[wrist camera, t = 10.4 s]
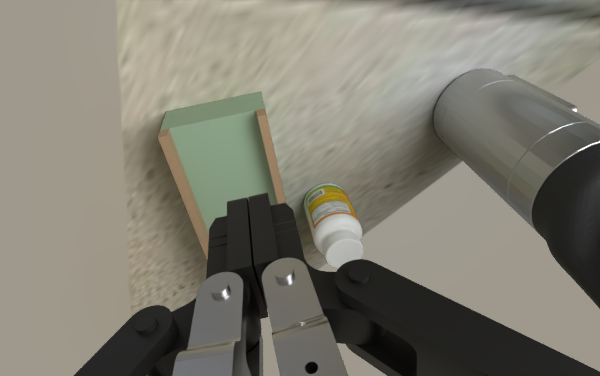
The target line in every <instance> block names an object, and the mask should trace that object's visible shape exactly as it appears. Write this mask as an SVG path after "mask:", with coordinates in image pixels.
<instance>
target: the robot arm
mask: <svg viewBox="0 0 600 376" xmlns="http://www.w3.org/2000/svg"><path fill="white" fill-rule="evenodd" d="M433 121H434V128H435V131H436V133H437V135H438V136H439V138H440V139H441V140H442V141H443V142H444V143H445V144H446V145H447V146H448V147H449V148H450V149H451V150H452V151H454V152H455V153H456V155H457V156H459V157H460V158H461V159H462V160H463V161H464V162H465V163H466V164H467V165H468V166H469V167H470V168H471V169H472V170H473V171H474V172H475V173H476V174H477V175H478V176H479V177H480V178H481V179H482V180H483V181H485V182H486V183H487V184H488V185H489V186H490V187H491V188H492V189H493V190H494V191H495V192H496V193H497V194H498V195H499V196H500V197H501V198H502V199H503V200H504V201H505V202H507V204H509V206H510V207H512V208H513V209H514V210H515V211H516V212H517V213H518V214H519V215H520V216H521V217H522V218H523V219H524V220H525V221H526V222H527V223H528V224H529V225H531V226H532V227H533V228H534V229H535V230H536V231H537V232H538V233H539V234H540V235H541V236H542V237H543V238H544V239H545V240H546V242H547V244H548V247H549V250H550V252H551V254H552V255H553V257H554V258H555V260H556V261H557V262H558V263H559V264H560V266H561V267H562V268H563V269H564V270H565V271H566V272H567V273H568V274H569V275H570V276H571V277H572V278H573V279H574V280H575V281H576V283H577V284H578V285H579V286H580V287H581V288H582V289H583V290H584V291H585V293H586V294H587V295H588V296H589V297H590V298H591V299H592V300H593V302H594V303H595V304H596V305H597V306H598V307H599V308H600V124H599V123H597V122H595V121H593V120H591V119H589V118H587V117H585V116H583V115H581V114H579V113H578V108H577V107H576V106H575V105H573V104H571V103H569V102H567V101H565V100H563V99H561V98H559V97H557V96H555V95H553V94H551V93H549V92H547V91H545V90H543V89H541V88H539V87H537V86H535V85H533V84H531V83H529V82H527V81H525V80H523V79H521V78H519V77H517V76H515V75H512V76H505V75H503V74H501V73H500V72H498V71H494V70H491V69H479V70H474V71H471V72H468V73H466V74H464V75H462V76H460V77H459V78H457V79H456V80H455V81H453V82H452V83H451V84H450V85H449V86H448V87H447V88H446V89H445V91H444V92H443V93H442V95H441V96H440V98H439V100H438V102H437V105H436V107H435V110H434V117H433ZM248 200H249V201H248ZM208 248H209V249H208V260H207V279H206V280H205V281H204V282H203V283H202V284H201V286H200V287H199V289H198V292H197V297H196V298H195V299H194V300H193V301H191V302H190V303H188V304H186V305H185V306H183V307H181V308H179V309H177V310H175V311H173V312H171V311H170V310H169V309H168V308H166V307H164V306H160V305H155V306H150V307H147V308H144V309H142V310H140V311H139V312H137V313H136V314H134V315H133V316H132V317H131V318H130V319H129V320H128V321H127V322H126V323H125V324H124V325H123V326H122V327H121V328H120V329H119V330H118V332H116V333H115V334H114V335H113V336H112V337H111V338H110V339H109V340H108V341H107V343H106V344H104V345H103V346H102V348H101V349H100V350H99V351H98V352H97V353H96V354H95V355H94V356H93V357H92V358H91V359H90V360H89V361H88V362H87V363H86V364H85V365H84V366H83V367H82V368H81V369H80V370H79V371H78V372H77V373H76V374H75V375H74V376H146V375H147V376H263V339H262V335H261V322H260V319H261V318H266V317H268V312H267V308H268V311H269V317H270V321H271V326H272V331H273V333H272V338H273V343H274V348H275V353H276V358H277V363H278V368H279V372H280V376H348V374H347V371H346V368H345V365H344V362H343V360H342V357H341V354H340V351H339V349H338V346H337V343H345V344H346V345H347V347H348V348H349V349H350V350H351V351H352V352H353V353H355V354H357V355H358V356H359V357H361V358H362V359H364V360H365V361H367V362H368V363H370V364H371V365H373V366H374V367H376V368H377V369H378V370H380V371H381V372H383V373H385V374H386V375H387V376H600V372H599V371H597V370H595V369H593V368H591V367H589V366H587V365H585V364H583V363H581V362H579V361H577V360H575V359H573V358H570V357H568V356H566V355H564V354H562V353H560V352H558V351H556V350H554V349H552V348H550V347H548V346H546V345H544V344H541V343H539V342H537V341H535V340H533V339H531V338H529V337H527V336H525V335H523V334H521V333H519V332H517V331H515V330H512V329H510V328H508V327H506V326H504V325H502V324H500V323H498V322H496V321H494V320H492V319H490V318H488V317H486V316H484V315H481V314H479V313H477V312H475V311H473V310H471V309H469V308H467V307H465V306H463V305H461V304H458V303H457V302H454V301H452V300H450V299H448V298H446V297H444V296H442V295H440V294H438V293H436V292H433V291H432V290H430V289H427V288H426V287H423V286H421V285H419V284H417V283H415V282H413V281H411V280H409V279H407V278H405V277H403V276H401V275H398V274H397V273H395V272H392V271H390V270H388V269H386V268H384V267H382V266H380V265H378V264H376V263H374V262H371V261H368V260H363V259H357V260H352V261H349V262H346V263H344V264H343V265H342V266H340V267H339V269H338V270H337V272H325V271H319V270H316V269H314V268H312V267H311V266H309V265H308V264H307V262H306V261H305V258H304V255H303V251H302V247H301V242H300V238H299V234H298V230H297V226H296V222H295V218H294V214H293V210H292V209H291V208H290V207H289V206H288V205H287V204H286V203H281V204H276V205H272V206H271V202H270V198H269V194H268V192H267V193H263V194H258V195H254V196H249V197H248V198H247V197H245V198H241V199H236V200H232V201H227V216H223V217H219V218H215V220H214V222H213V223H212V225H211V226H210V228H209V242H208Z"/></svg>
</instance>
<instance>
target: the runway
mask: <svg viewBox="0 0 600 376" xmlns="http://www.w3.org/2000/svg"><path fill="white" fill-rule="evenodd" d="M158 140H159V142H160V145H161V147H162V150H163V152H164V155H165V157H166V160H167V162H168V165H169V167H170V170H171V172H172V174H173V177H174V179H175V182H176V184H177V187H178V189H179V192H180V194H181V197H182V199H183V202H184V204H185V207H186V209H187V212H188V214H189V217H190V219H191V222H192V224H193V227H194V229H195V232H196V234H197V237H198V239H199V242H200V244H201V247H202V249H203V252H204V254H205V257H206V259H207V260H208V249H209V248H208V242H209V228H210V226H211V225H212V223H213V222H214V220H215V218H219V217H223V216H227V201H232V200H236V199H241V198H245V197H247V198H248V197H249V196H254V195H258V194H263V193H267V192H268V194H269V198H270V202H271V206H272V205H276V204H281V203H286V201H285V197H284V192H283V188H282V183H281V179H280V174H279V170H278V165H277V161H276V156H275V152H274V147H273V143H272V138H271V134H270V129H269V125H268V120H267V115H266V111H265V107H264V102H263V98H262V93H261V92H257V93H253V94H248V95H243V96H238V97H234V98H229V99H224V100H219V101H214V102H210V103H205V104H200V105H195V106H191V107H186V108H181V109H176V110H172V111H167V112H166V114H165V117H164V120H163V123H162V126H161V129H160V132H159V135H158ZM248 201H249V200H248Z"/></svg>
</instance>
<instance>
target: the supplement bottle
mask: <svg viewBox="0 0 600 376" xmlns="http://www.w3.org/2000/svg"><path fill="white" fill-rule="evenodd" d="M304 210H305V213H306V217H307V220H308V224H309V227H310V231H311V234H312V238H313V241H314V244H315V246H316V248H317V249H318V250H319V251H320V252H321V253H323V254H324V256H325V259H326V261H327V263H328V264H329V265H330V266H332V267H335V268H339V267H340V266H342V265H343V264H344V263H346V262H349V261H352V260H357V259H361V257H362V255H363V246H362V244H361V242H360V241H361V238H362V228H361V225H360V223H359V221H358V218H357V216H356V214H355V212H354V210H353V208H352V206H351V203H350V201H349V199H348V197H347V195H346V193H345V191H344V190H343V189H342V188H341V187H339V186H338V185H335V184H330V183H326V184H321V185H318V186H316V187H314V188H313V189H311V190H310V191H309V192H308V193H307V195H306V197H305V199H304Z"/></svg>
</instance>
